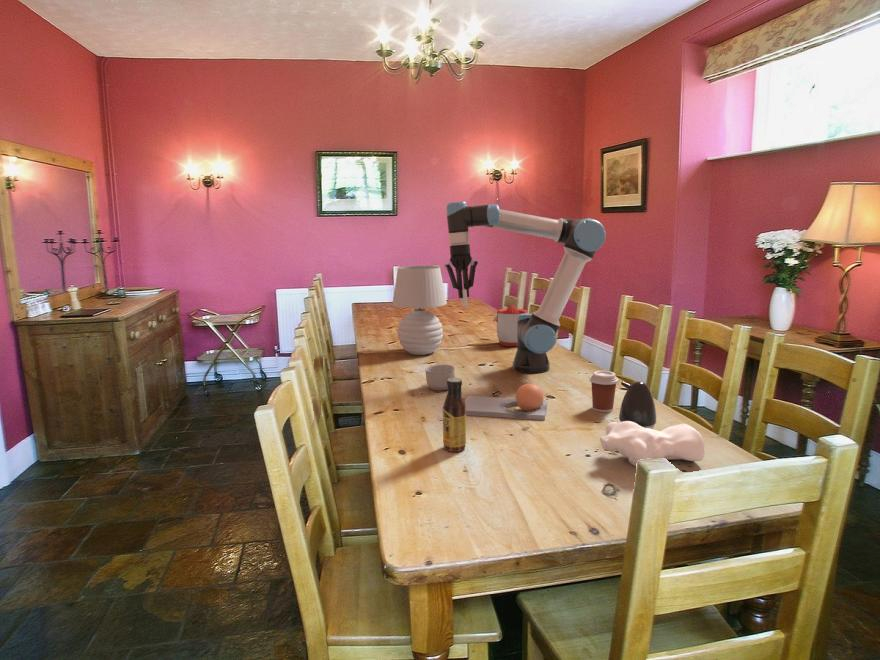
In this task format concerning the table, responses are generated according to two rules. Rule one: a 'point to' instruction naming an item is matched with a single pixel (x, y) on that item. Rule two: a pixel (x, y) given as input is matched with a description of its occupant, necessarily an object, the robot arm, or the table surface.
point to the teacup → (439, 376)
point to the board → (501, 408)
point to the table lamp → (419, 291)
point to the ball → (529, 397)
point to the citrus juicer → (508, 325)
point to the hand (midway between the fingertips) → (464, 306)
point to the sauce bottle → (454, 417)
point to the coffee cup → (603, 390)
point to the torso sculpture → (653, 442)
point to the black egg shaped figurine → (638, 405)
